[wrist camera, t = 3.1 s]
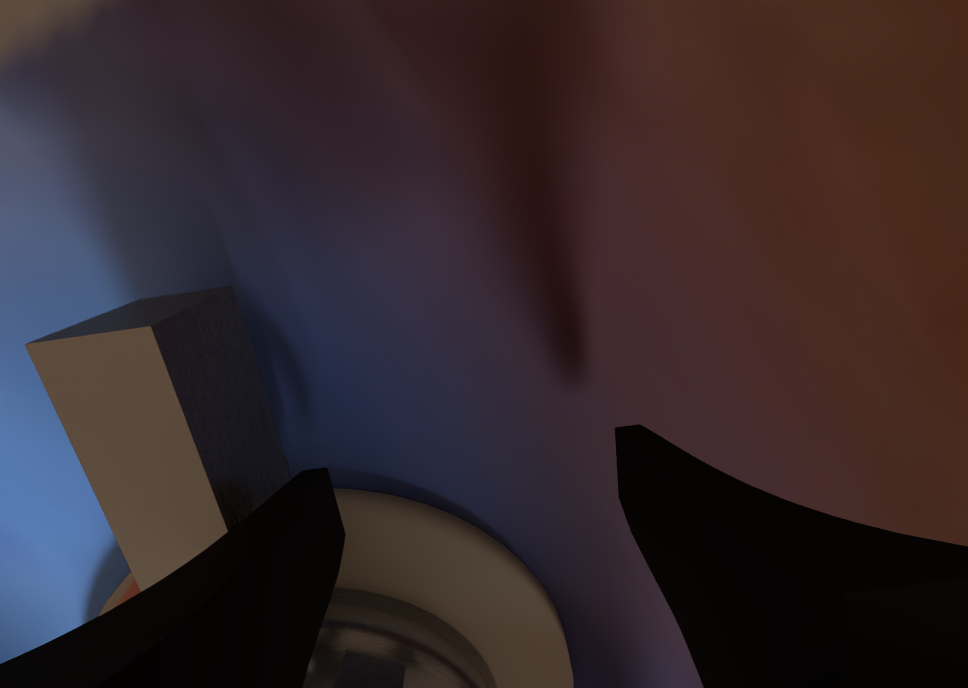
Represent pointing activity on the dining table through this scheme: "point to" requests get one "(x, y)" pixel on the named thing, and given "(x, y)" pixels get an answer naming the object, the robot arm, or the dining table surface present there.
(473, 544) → the flange plate
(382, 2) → the dining table surface
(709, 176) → the dining table surface
